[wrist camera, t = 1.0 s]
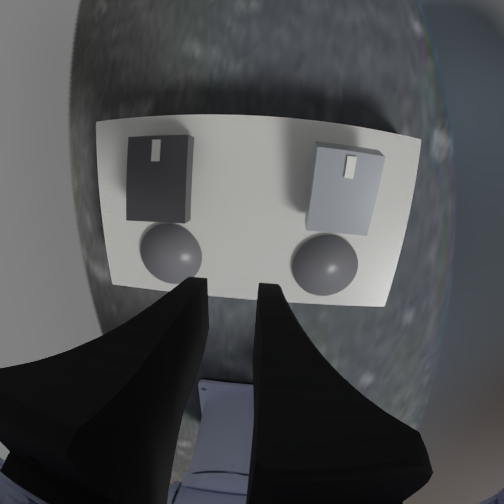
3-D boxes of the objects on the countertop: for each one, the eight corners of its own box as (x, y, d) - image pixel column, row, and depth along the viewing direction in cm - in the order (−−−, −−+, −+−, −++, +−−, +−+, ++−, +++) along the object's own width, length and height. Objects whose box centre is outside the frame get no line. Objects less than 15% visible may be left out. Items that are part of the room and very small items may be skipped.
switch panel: (371, 281, 20) (385, 308, 17) (130, 263, 20) (111, 285, 17) (399, 135, 15) (422, 139, 12) (121, 119, 16) (94, 121, 13)
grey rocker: (362, 225, 14) (367, 236, 14) (304, 219, 15) (306, 231, 14) (378, 149, 12) (385, 157, 11) (314, 140, 12) (317, 147, 11)
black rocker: (190, 220, 14) (184, 224, 13) (134, 217, 14) (125, 220, 13) (194, 137, 13) (188, 134, 12) (137, 138, 13) (127, 136, 12)
